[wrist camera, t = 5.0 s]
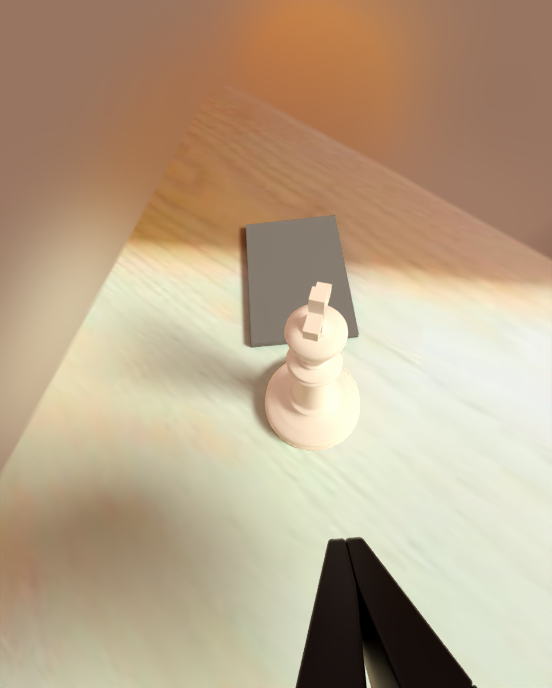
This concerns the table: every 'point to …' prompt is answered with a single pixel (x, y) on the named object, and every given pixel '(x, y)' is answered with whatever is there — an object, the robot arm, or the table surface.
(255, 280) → the slate mat
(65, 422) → the table surface
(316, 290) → the chess piece
